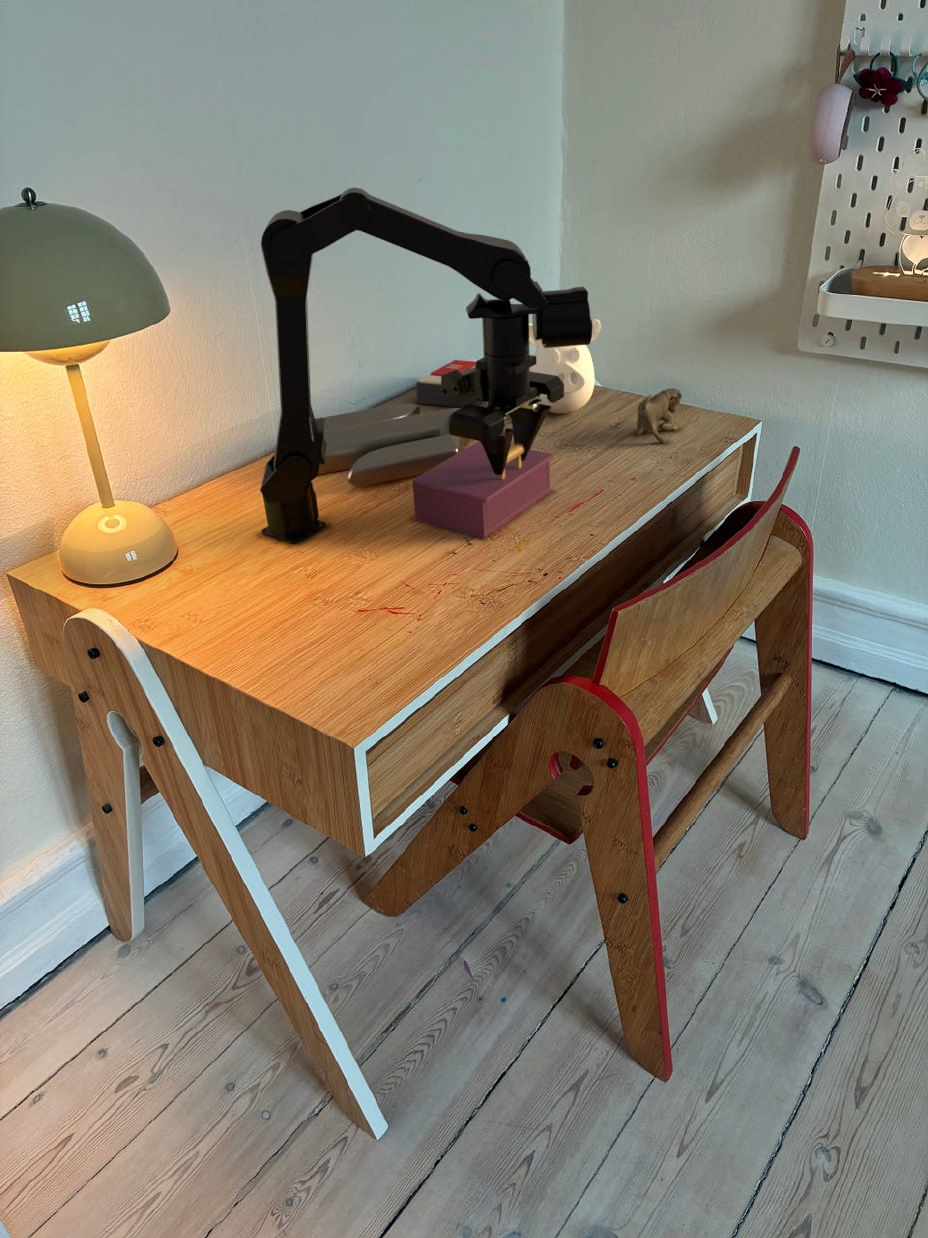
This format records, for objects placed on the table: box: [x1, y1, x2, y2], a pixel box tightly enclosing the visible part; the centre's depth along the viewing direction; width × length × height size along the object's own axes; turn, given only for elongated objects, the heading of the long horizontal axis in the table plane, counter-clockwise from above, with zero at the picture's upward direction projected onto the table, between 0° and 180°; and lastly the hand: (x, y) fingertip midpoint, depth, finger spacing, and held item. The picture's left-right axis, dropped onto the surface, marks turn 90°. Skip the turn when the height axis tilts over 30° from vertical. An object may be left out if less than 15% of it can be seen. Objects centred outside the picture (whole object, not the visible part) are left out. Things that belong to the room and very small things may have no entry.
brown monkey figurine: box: [635, 387, 683, 444], centre depth 152 cm, size 12×6×7 cm, turn 145°
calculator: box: [415, 359, 482, 408], centre depth 173 cm, size 11×4×15 cm
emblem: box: [317, 403, 467, 488], centre depth 150 cm, size 28×5×28 cm
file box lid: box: [411, 441, 554, 503], centre depth 130 cm, size 12×16×4 cm
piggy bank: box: [529, 318, 602, 414], centre depth 160 cm, size 12×12×15 cm
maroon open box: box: [412, 460, 551, 539], centre depth 133 cm, size 11×16×5 cm
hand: (509, 467), depth 128 cm, fingers closed on file box lid, 5 cm apart
